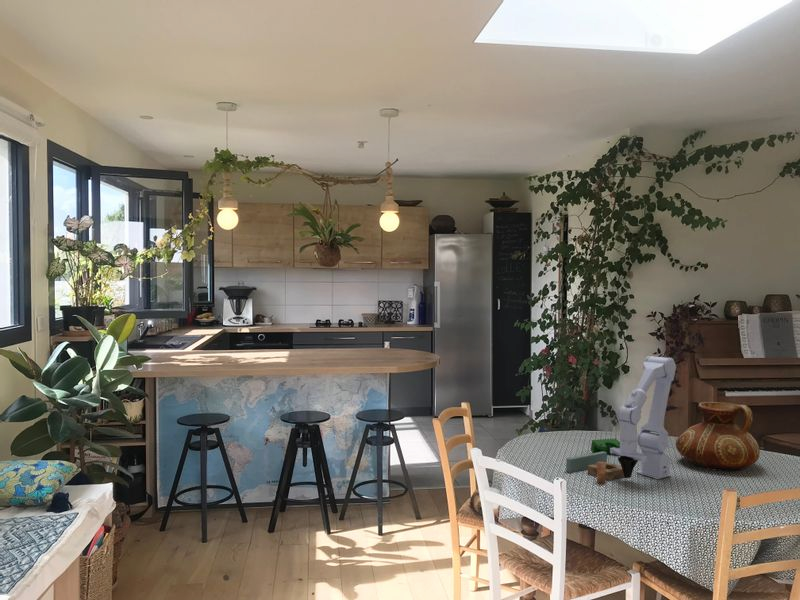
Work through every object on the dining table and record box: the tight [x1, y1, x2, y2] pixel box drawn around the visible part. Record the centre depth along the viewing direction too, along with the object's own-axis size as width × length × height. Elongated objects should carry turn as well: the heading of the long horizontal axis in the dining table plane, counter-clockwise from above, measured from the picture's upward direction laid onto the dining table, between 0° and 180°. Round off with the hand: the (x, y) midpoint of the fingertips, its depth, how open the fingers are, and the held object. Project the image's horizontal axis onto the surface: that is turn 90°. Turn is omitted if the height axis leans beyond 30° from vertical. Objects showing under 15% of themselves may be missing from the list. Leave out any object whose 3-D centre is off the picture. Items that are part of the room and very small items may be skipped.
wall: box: [565, 451, 608, 474], centre depth 253 cm, size 2×20×5 cm, turn 122°
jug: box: [675, 401, 761, 472], centre depth 259 cm, size 30×30×25 cm
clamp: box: [590, 438, 620, 456], centre depth 274 cm, size 12×6×9 cm, turn 99°
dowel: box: [596, 462, 607, 484], centre depth 235 cm, size 3×3×7 cm
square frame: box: [587, 461, 625, 481], centre depth 244 cm, size 10×10×3 cm
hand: (627, 477), depth 236 cm, fingers closed
